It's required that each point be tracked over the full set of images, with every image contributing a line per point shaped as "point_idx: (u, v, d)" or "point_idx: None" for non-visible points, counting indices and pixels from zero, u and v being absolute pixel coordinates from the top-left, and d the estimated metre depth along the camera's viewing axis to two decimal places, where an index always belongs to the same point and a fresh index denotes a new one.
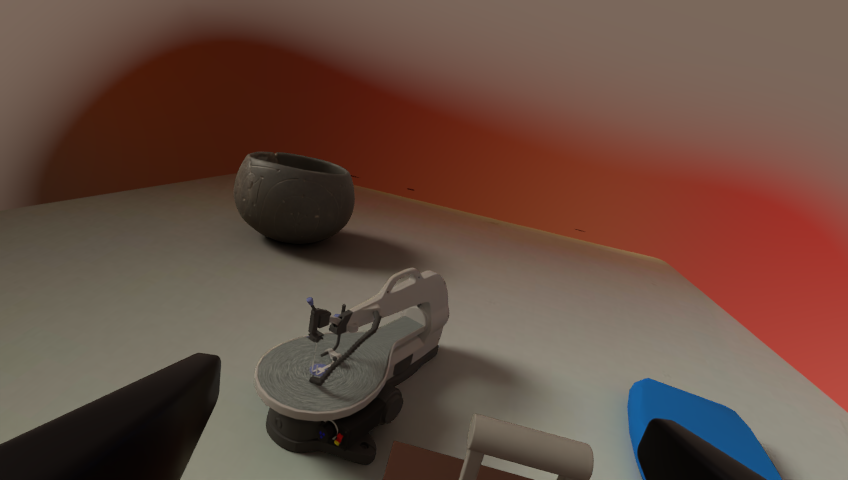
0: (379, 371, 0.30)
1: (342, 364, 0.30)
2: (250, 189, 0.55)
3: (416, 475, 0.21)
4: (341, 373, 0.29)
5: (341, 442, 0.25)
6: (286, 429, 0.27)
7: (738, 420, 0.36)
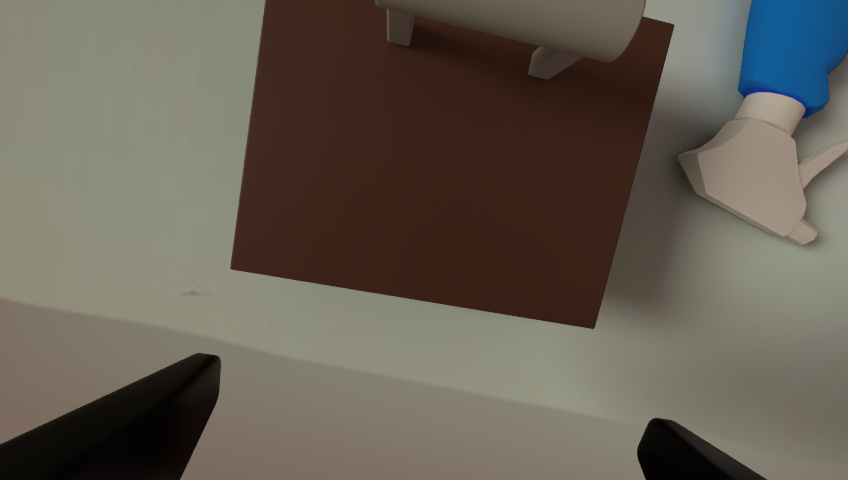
0: None
1: None
2: None
3: (321, 2, 0.12)
4: None
5: None
6: None
7: None
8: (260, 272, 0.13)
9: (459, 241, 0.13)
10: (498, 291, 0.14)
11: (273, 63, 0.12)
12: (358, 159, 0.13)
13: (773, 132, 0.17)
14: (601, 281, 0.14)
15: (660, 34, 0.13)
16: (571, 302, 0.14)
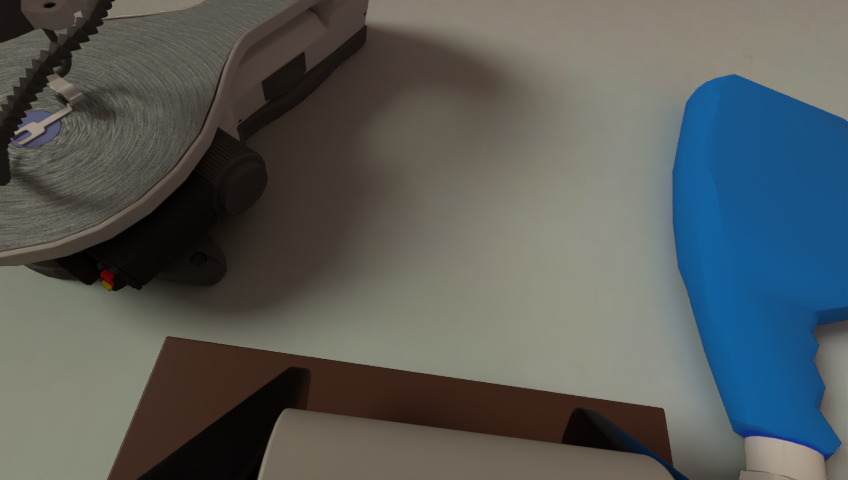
0: (190, 118, 0.13)
1: (97, 107, 0.13)
2: None
3: None
4: (91, 132, 0.13)
5: (116, 283, 0.12)
6: None
7: None
8: None
9: None
10: None
11: None
12: None
13: None
14: None
15: (653, 422, 0.10)
16: None
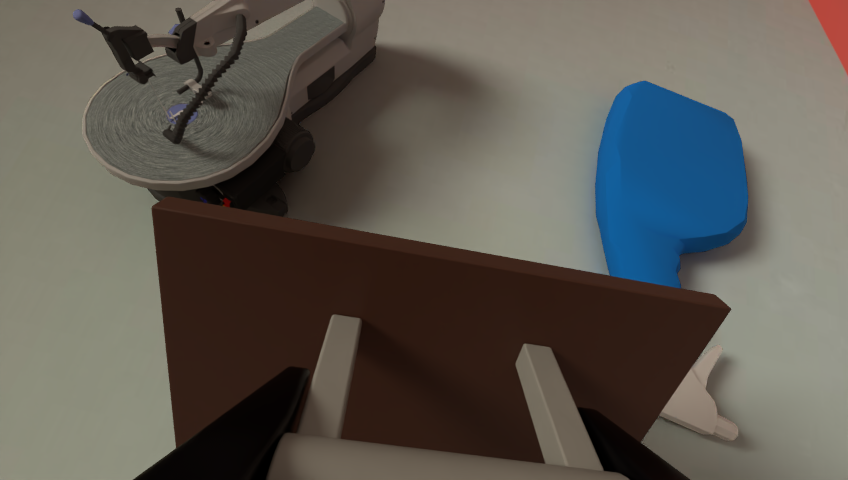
0: (271, 108, 0.22)
1: (216, 102, 0.21)
2: None
3: (235, 298, 0.09)
4: (214, 116, 0.21)
5: (231, 207, 0.21)
6: (163, 192, 0.21)
7: (732, 131, 0.30)
8: None
9: None
10: None
11: (186, 358, 0.09)
12: None
13: None
14: None
15: (707, 320, 0.09)
16: None
